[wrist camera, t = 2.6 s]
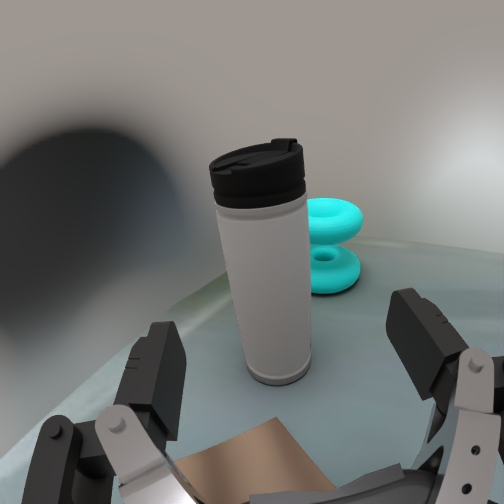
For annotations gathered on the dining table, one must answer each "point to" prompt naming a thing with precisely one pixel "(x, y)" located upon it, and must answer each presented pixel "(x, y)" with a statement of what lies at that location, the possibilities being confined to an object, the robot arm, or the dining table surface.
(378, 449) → the dining table surface
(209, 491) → the walnut board
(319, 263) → the cyan spool
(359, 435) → the dining table surface
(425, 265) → the dining table surface
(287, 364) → the travel mug
